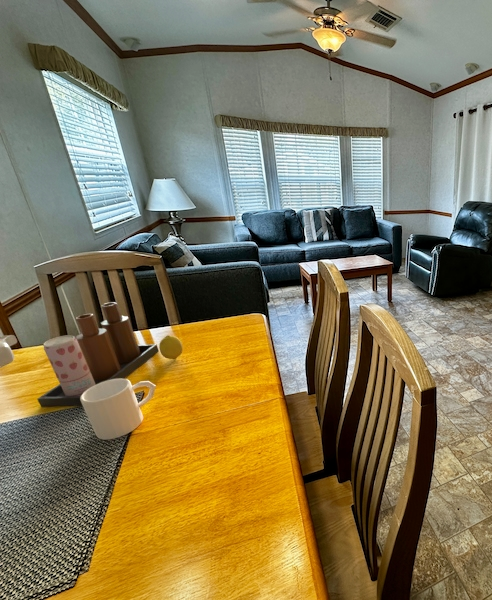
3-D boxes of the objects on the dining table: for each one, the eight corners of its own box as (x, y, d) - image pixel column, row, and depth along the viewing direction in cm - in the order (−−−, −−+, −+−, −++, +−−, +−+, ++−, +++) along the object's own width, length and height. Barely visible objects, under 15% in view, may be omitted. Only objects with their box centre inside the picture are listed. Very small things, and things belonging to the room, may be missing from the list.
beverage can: (71, 403, 78) (46, 348, 73) (63, 395, 81) (38, 342, 76) (100, 390, 83) (79, 338, 77) (92, 383, 86) (70, 332, 80)
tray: (90, 406, 78) (86, 397, 77) (41, 407, 78) (36, 398, 77) (158, 351, 102) (156, 344, 101) (121, 352, 101) (118, 345, 100)
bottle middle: (88, 383, 86) (62, 322, 80) (100, 371, 92) (76, 313, 85) (115, 379, 88) (92, 319, 81) (125, 367, 93) (104, 310, 87)
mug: (166, 418, 74) (154, 382, 71) (96, 446, 67) (79, 407, 63) (161, 401, 80) (149, 367, 76) (96, 424, 72) (80, 388, 69)
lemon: (189, 356, 99) (183, 333, 96) (171, 366, 94) (163, 341, 91) (178, 352, 101) (171, 329, 98) (159, 361, 96) (151, 337, 93)
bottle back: (112, 366, 94) (89, 309, 87) (121, 356, 99) (101, 301, 92) (136, 363, 95) (116, 306, 89) (144, 353, 101) (126, 299, 94)
